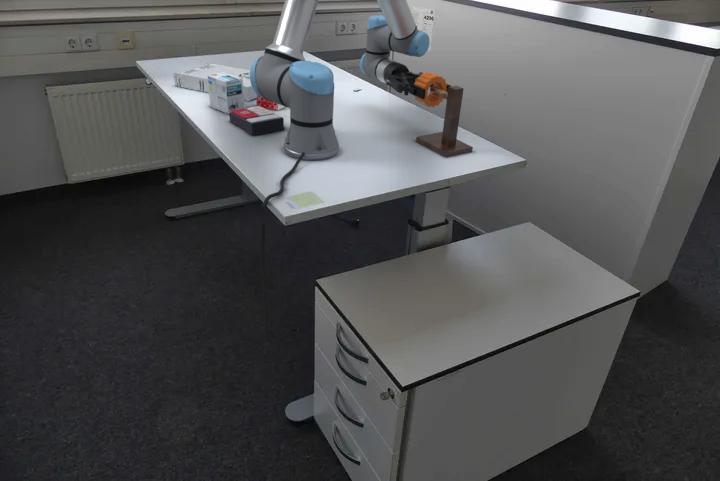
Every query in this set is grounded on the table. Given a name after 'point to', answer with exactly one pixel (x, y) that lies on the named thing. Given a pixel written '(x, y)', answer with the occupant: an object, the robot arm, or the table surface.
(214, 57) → the table surface
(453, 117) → the stand
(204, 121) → the table surface
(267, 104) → the red and white cube
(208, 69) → the white cardboard box
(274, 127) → the red and black box
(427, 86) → the tape roll
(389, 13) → the robot arm
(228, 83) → the light bulb box
